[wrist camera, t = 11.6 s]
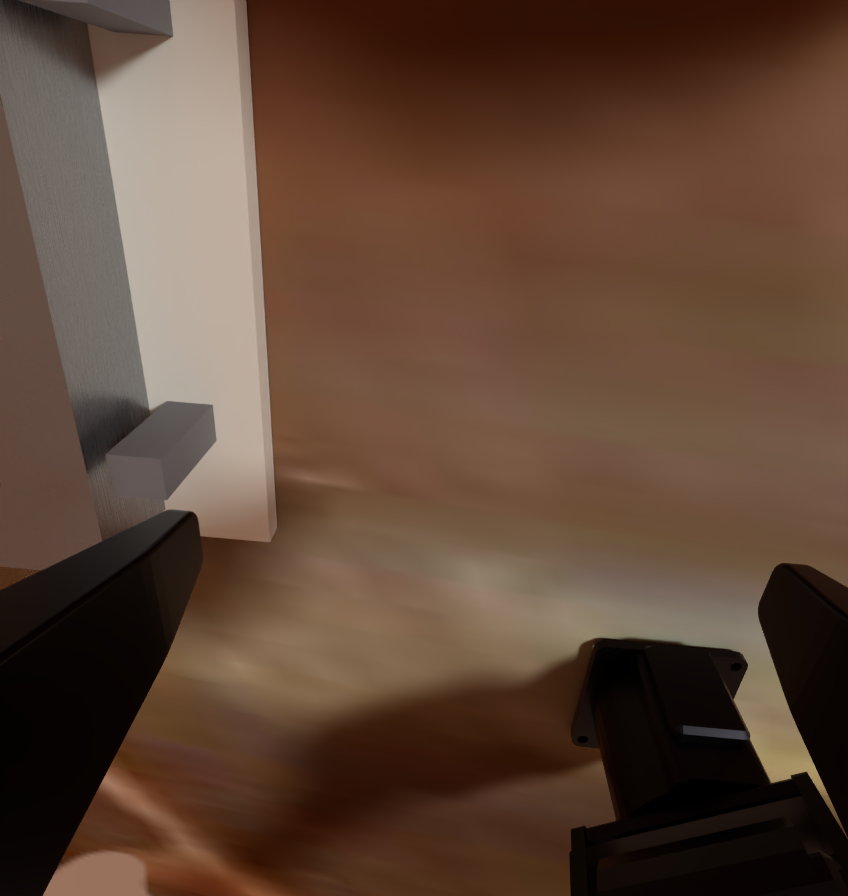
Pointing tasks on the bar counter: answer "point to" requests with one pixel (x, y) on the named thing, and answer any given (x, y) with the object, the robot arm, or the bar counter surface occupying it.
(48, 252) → the grey square bar
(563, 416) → the bar counter surface
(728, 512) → the bar counter surface
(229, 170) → the collar stand
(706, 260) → the bar counter surface
